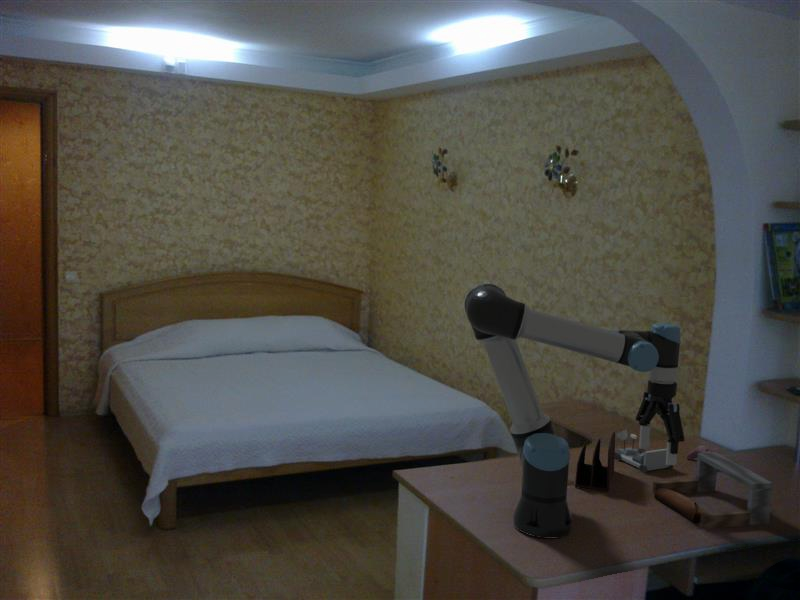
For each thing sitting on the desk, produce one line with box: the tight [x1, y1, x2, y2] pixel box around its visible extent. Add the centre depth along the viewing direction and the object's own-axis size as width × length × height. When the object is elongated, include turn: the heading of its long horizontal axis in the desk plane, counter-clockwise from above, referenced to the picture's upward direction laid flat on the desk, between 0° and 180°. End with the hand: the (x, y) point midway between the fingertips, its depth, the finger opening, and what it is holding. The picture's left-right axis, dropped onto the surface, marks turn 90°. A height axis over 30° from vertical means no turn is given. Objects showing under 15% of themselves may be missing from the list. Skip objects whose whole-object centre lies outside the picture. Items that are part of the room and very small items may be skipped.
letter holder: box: [574, 431, 616, 493], centre depth 239 cm, size 10×20×14 cm, turn 160°
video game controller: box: [686, 445, 712, 467], centre depth 256 cm, size 10×5×7 cm, turn 179°
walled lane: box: [652, 451, 774, 530], centre depth 220 cm, size 20×25×12 cm
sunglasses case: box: [653, 488, 709, 524], centre depth 218 cm, size 18×7×7 cm
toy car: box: [614, 428, 674, 474], centre depth 256 cm, size 18×10×12 cm
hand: (656, 456), depth 214 cm, fingers open, 13 cm apart
